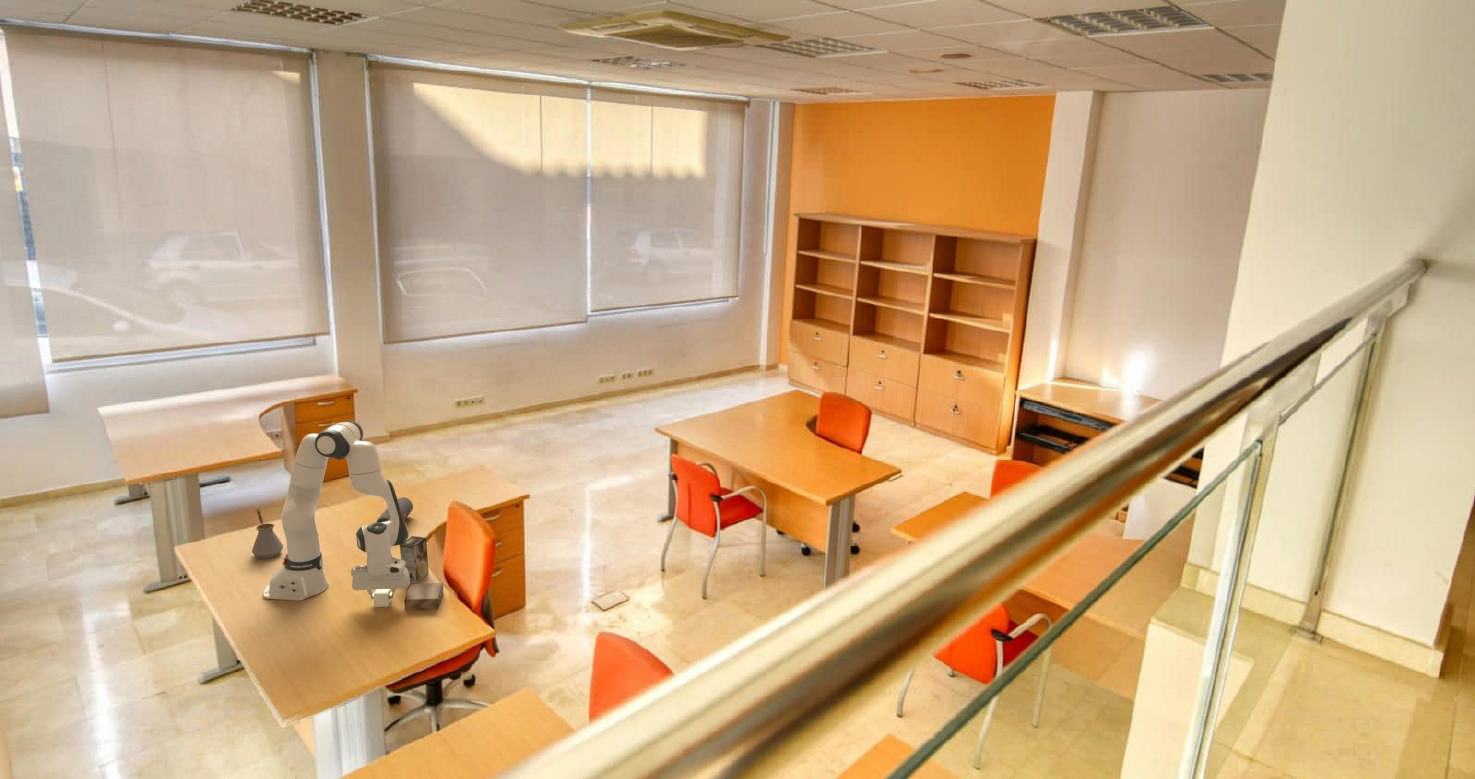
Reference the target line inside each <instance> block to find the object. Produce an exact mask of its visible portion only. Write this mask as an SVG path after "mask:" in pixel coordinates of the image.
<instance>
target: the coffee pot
mask: <svg viewBox="0 0 1475 779" xmlns="http://www.w3.org/2000/svg"><path fill="white" fill-rule="evenodd" d="M261 512H262V510H260V509H259V508H257V509H256V510H255V513H256V515H257V516H258V520H259V522H260V524H259V525H257V526H256V527H255V529H256V530H257V532H258V533H257V535H256V538H255V541H254V543H253V546H252V549H251V553H252V554H253V555H254V556H256V557H257V558H259V559H263V560H267V559H272V558H275V557H277V556H278V555H279V554H280V553H281V551H283V548H284V544H283V543H282V541H281V540H280V539H279V538H278V536H277V535H276V533H275V531H274V530H273V529H274V527H275V524H274V523H267V522H266V523H264V520H263V517H262V513H261Z"/></svg>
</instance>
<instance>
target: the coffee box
mask: <svg viewBox="0 0 1475 779" xmlns="http://www.w3.org/2000/svg"><path fill="white" fill-rule="evenodd" d="M427 546H428V544H427V537H423V536H415V535H414V536H413V535H412V536H410V537H408V538H407V540H406V541H405V542H404V543H403V544H402V545H399V550H400V559H401V560H404V561H405V562H406V564H405V567H406V568H407V569H408V572H409V577H410V584H418V583H419V582H420V581H421V580H422V579H423V578H425V576H427V575H428V574H429V560H428V559H429V558H428V547H427Z"/></svg>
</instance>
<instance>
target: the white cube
mask: <svg viewBox="0 0 1475 779" xmlns="http://www.w3.org/2000/svg"><path fill="white" fill-rule="evenodd" d="M373 593H374V595H373V597H374V599H373V607H374V608H387V607H389V606H390V604H391V602H392V599H389V593H392V591H391V589H375V591H374V592H373Z"/></svg>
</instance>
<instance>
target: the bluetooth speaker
mask: <svg viewBox="0 0 1475 779" xmlns="http://www.w3.org/2000/svg"><path fill="white" fill-rule="evenodd" d="M397 499H398V502H399V506H400V509H401V512H402V515H403V518H404V521H405V520H406V519H407V518H408V517H409V516H410V514H411V513H412V511H413V508H414V504H413V502H412V500H410V499H409V498H407V497H405V496H404V497H403V496H402V497H399V498H397ZM390 519H391V517H390V513H389V510H388V507H387V508H386V509H385V510H384V511H383V512H382V513H381V514H380V516H379V517H378V518H377V520H376V522H385V521H389V520H390Z"/></svg>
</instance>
